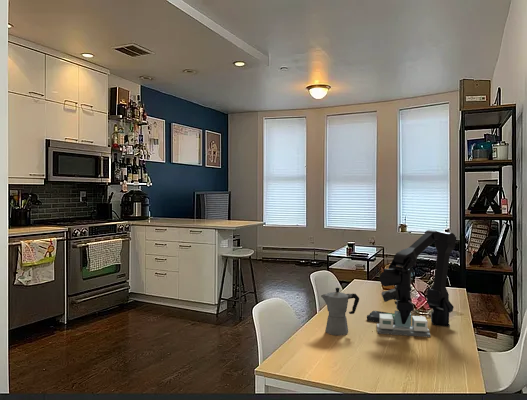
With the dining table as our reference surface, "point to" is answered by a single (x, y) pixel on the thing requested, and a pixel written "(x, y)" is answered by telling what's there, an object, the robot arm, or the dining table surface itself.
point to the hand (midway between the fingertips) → (402, 322)
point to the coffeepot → (338, 311)
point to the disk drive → (375, 316)
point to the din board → (415, 330)
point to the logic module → (399, 322)
